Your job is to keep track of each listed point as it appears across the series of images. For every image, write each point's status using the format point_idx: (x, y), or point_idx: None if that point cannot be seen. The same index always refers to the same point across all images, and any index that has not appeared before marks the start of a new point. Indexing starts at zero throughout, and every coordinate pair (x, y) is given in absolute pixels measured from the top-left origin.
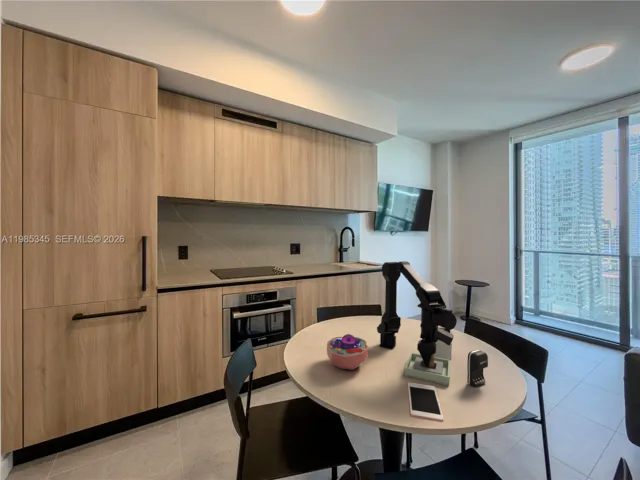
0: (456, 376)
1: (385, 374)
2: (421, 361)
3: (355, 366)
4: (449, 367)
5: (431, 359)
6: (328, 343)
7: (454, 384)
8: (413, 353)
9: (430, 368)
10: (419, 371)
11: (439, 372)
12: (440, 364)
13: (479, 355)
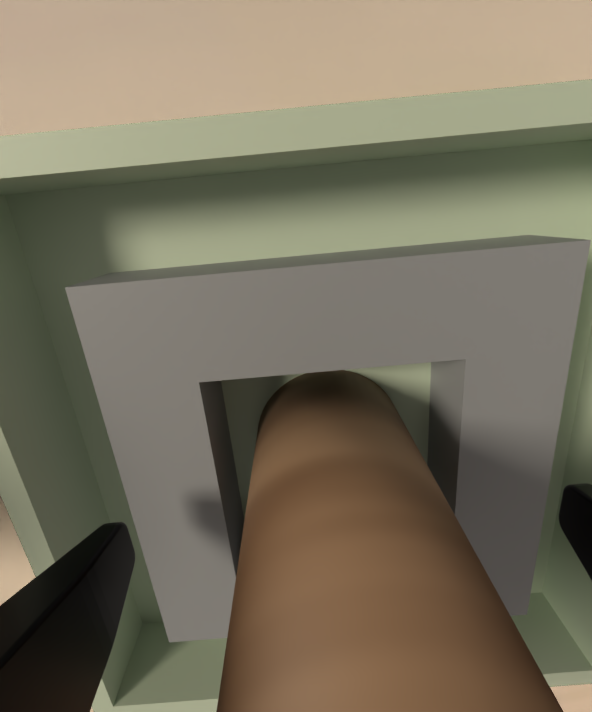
0: (255, 24)
1: (578, 696)
2: (237, 562)
3: None
4: (287, 119)
5: (463, 533)
6: None
7: (557, 30)
8: (105, 695)
9: (405, 429)
10: None
11: (553, 285)
12: (202, 317)
13: None
